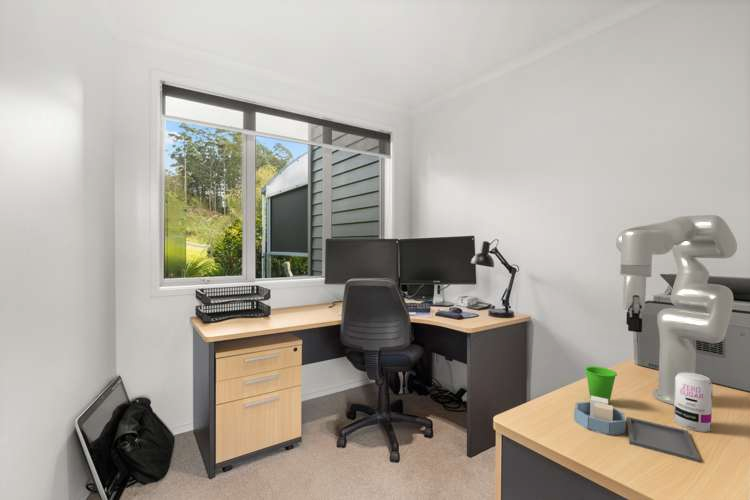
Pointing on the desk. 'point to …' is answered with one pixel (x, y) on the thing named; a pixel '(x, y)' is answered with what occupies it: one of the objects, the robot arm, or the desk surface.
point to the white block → (592, 403)
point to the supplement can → (693, 401)
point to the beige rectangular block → (603, 411)
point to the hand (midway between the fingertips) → (633, 328)
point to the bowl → (599, 420)
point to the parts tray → (661, 439)
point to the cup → (600, 381)
